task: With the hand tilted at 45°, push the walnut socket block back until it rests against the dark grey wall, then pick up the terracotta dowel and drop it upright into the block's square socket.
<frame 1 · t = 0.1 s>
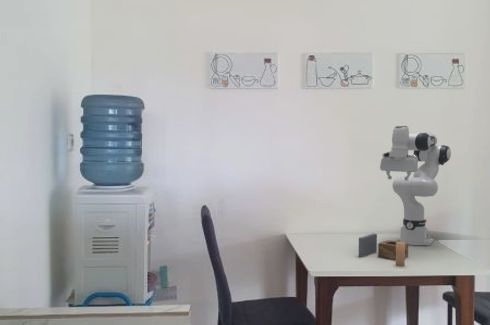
hand: (397, 179, 238), 39 cm above the table, tool pointing down, fingers open, 8 cm apart
dowel: (400, 265, 207), on the table
socket block: (393, 250, 222), point 4 cm above the table, slide at 0.0 cm
wall: (367, 254, 228), on the table
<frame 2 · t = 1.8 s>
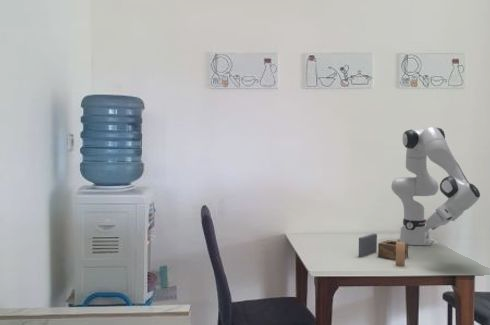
hand: (428, 229, 212), 16 cm above the table, tool tilted 45°, fingers open, 8 cm apart
nothing on the table moved.
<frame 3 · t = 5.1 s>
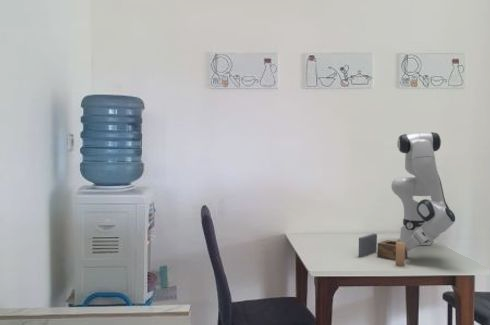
hand: (406, 249, 220), 4 cm above the table, tool tilted 45°, fingers closed, pressing on socket block
socket block: (392, 249, 222), point 4 cm above the table, slide at 0.4 cm, touching gripper
everything else where it was.
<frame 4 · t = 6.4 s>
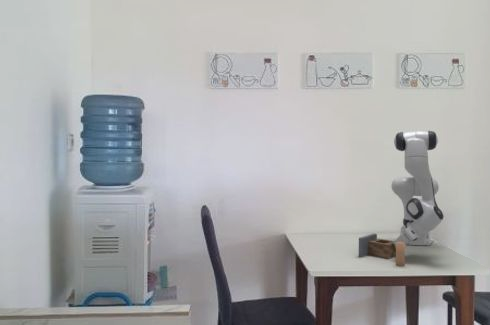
hand: (396, 248, 224), 4 cm above the table, tool tilted 45°, fingers closed, pressing on socket block
socket block: (383, 248, 226), point 4 cm above the table, slide at 5.5 cm, touching gripper, wall
everything else where it was.
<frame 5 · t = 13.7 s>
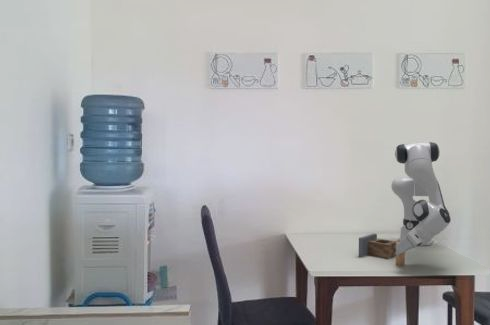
hand: (399, 253, 208), 6 cm above the table, tool tilted 45°, fingers closed on dowel, 4 cm apart
dowel: (400, 265, 207), on the table, touching gripper
socket block: (383, 248, 226), point 4 cm above the table, slide at 5.5 cm
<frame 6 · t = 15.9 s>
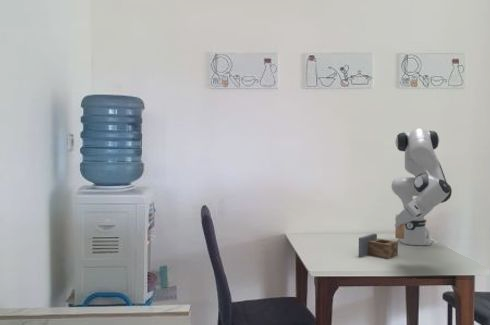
hand: (398, 225, 208), 19 cm above the table, tool tilted 45°, fingers closed on dowel, 4 cm apart
dowel: (399, 237, 208), point 13 cm above the table, touching gripper
everything else where it was.
when the fingers open (15 cm above the table, at t = 18.6 s): dowel drops 6 cm, resting on socket block.
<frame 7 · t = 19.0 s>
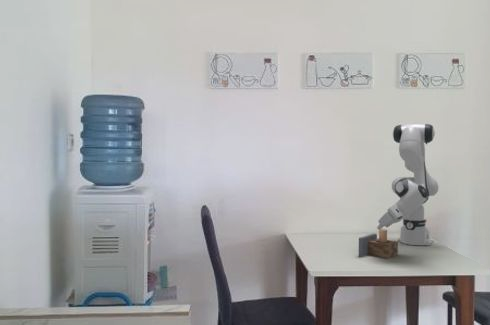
hand: (382, 227, 226), 15 cm above the table, tool tilted 45°, fingers open, 8 cm apart
dowel: (383, 250, 226), point 2 cm above the table, tilted 5°, touching socket block
socket block: (383, 248, 226), point 4 cm above the table, slide at 5.5 cm, touching dowel
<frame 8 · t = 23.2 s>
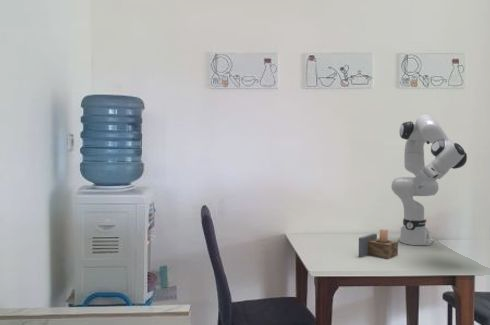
hand: (415, 188, 222), 35 cm above the table, tool tilted 45°, fingers open, 8 cm apart
nothing on the table moved.
at the end: socket block slide at 5.5 cm; dowel 0.2 cm from the target spot, point 2.3 cm above the table; dowel tilted 1° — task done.
